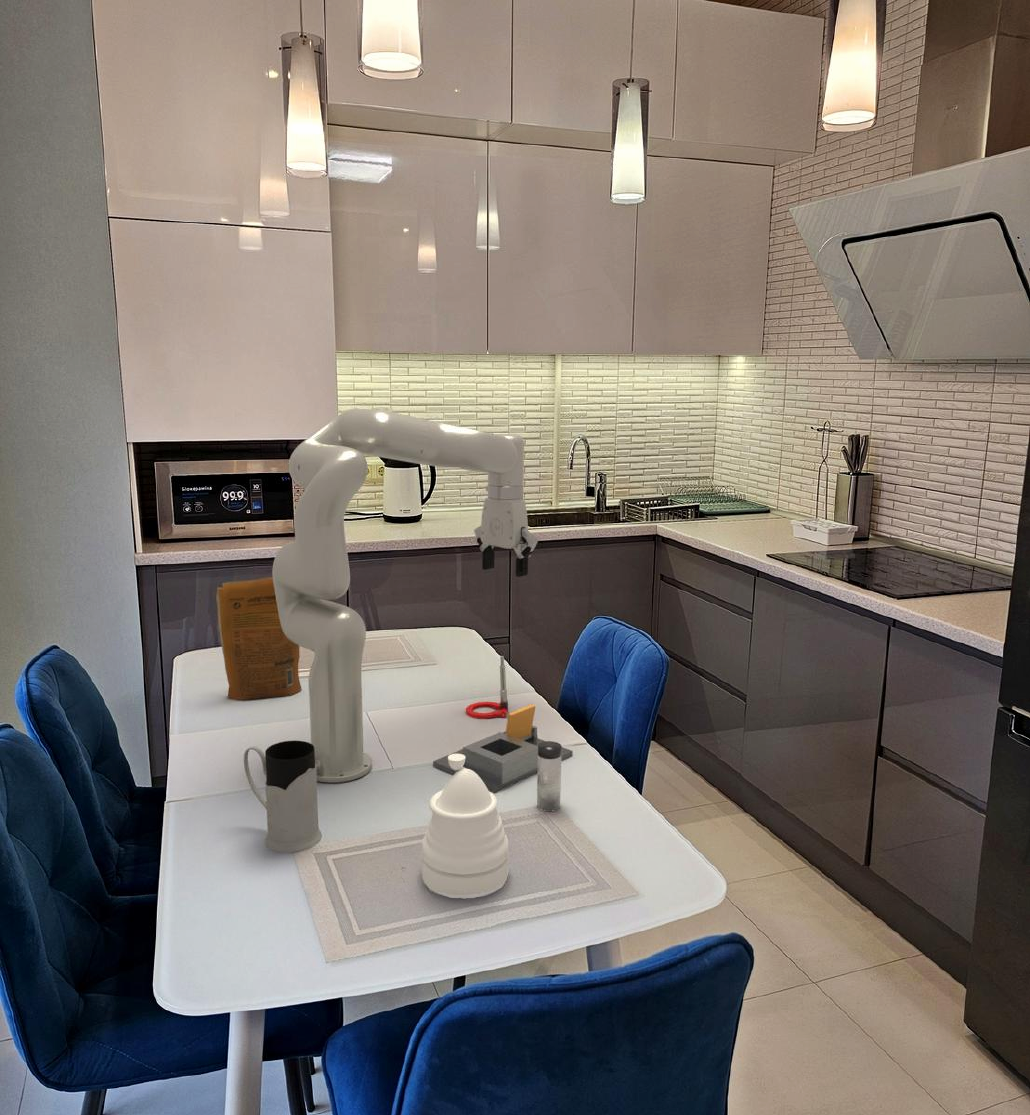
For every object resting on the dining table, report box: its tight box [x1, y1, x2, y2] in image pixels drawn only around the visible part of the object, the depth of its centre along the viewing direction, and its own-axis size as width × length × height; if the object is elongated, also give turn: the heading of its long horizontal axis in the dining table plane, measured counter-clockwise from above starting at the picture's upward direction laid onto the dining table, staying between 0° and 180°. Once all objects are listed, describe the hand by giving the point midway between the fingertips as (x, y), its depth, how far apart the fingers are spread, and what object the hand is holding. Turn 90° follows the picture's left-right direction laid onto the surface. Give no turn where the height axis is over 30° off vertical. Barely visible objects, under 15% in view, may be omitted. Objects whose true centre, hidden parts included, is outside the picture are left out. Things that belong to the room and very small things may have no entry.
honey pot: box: [421, 753, 510, 895], centre depth 132 cm, size 13×13×18 cm
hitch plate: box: [432, 724, 573, 794], centre depth 173 cm, size 22×16×5 cm
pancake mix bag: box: [215, 576, 303, 702], centre depth 203 cm, size 7×19×28 cm, turn 110°
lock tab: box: [505, 703, 536, 741], centre depth 177 cm, size 8×1×8 cm, turn 138°
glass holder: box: [243, 740, 323, 854], centre depth 144 cm, size 9×14×15 cm, turn 61°
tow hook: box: [465, 655, 509, 719], centre depth 197 cm, size 8×13×9 cm
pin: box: [536, 740, 563, 812], centre depth 154 cm, size 4×4×11 cm
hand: (504, 572), depth 194 cm, fingers open, 9 cm apart
